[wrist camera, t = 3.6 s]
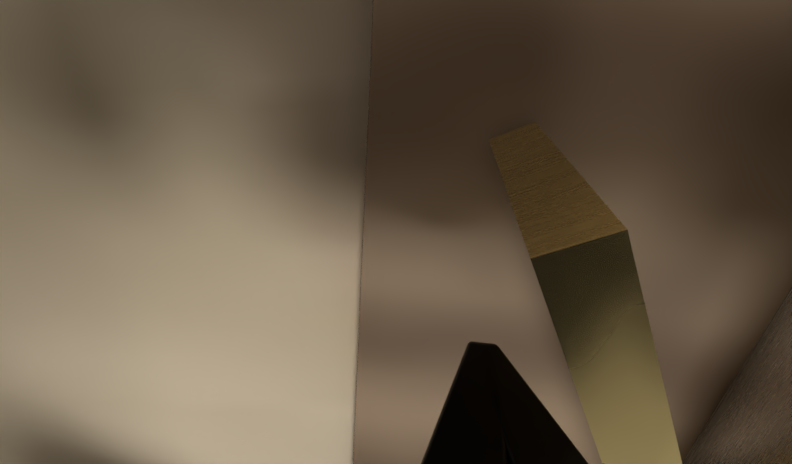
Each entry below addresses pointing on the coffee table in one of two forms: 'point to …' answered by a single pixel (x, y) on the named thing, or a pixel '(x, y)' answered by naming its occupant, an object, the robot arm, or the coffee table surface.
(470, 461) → the robot arm
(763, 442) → the steel leaf
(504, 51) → the hinge board
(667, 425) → the block
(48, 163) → the coffee table surface
